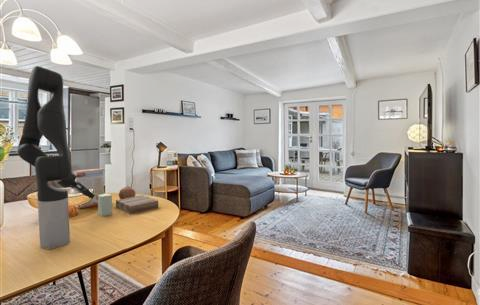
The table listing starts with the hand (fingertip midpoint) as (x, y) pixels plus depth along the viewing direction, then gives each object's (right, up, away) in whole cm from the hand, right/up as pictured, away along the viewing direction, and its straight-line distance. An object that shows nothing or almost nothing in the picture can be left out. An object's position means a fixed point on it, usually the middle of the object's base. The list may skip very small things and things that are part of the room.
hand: (90, 195), depth 130 cm
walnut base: (+16, -10, +18) cm, 26 cm away
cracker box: (-12, -9, +21) cm, 26 cm away
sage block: (+5, -10, +6) cm, 13 cm away
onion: (+5, -9, +31) cm, 33 cm away
